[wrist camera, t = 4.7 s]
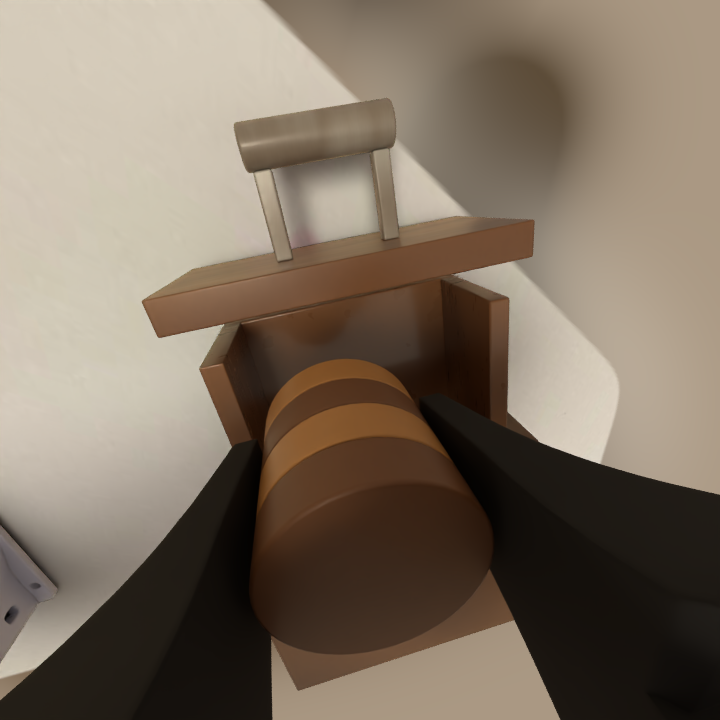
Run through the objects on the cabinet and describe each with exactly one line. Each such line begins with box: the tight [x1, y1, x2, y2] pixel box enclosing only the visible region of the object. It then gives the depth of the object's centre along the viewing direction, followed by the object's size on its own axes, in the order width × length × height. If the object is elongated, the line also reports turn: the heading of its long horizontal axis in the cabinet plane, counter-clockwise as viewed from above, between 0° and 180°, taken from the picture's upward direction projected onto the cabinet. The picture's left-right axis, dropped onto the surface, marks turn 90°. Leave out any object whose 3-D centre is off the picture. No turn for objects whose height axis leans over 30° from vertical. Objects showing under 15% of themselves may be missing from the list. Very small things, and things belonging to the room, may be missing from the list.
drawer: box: [142, 98, 534, 453], centre depth 14 cm, size 15×12×6 cm
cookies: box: [249, 359, 494, 655], centre depth 9 cm, size 5×5×5 cm
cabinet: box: [271, 412, 538, 690], centre depth 19 cm, size 12×14×8 cm
